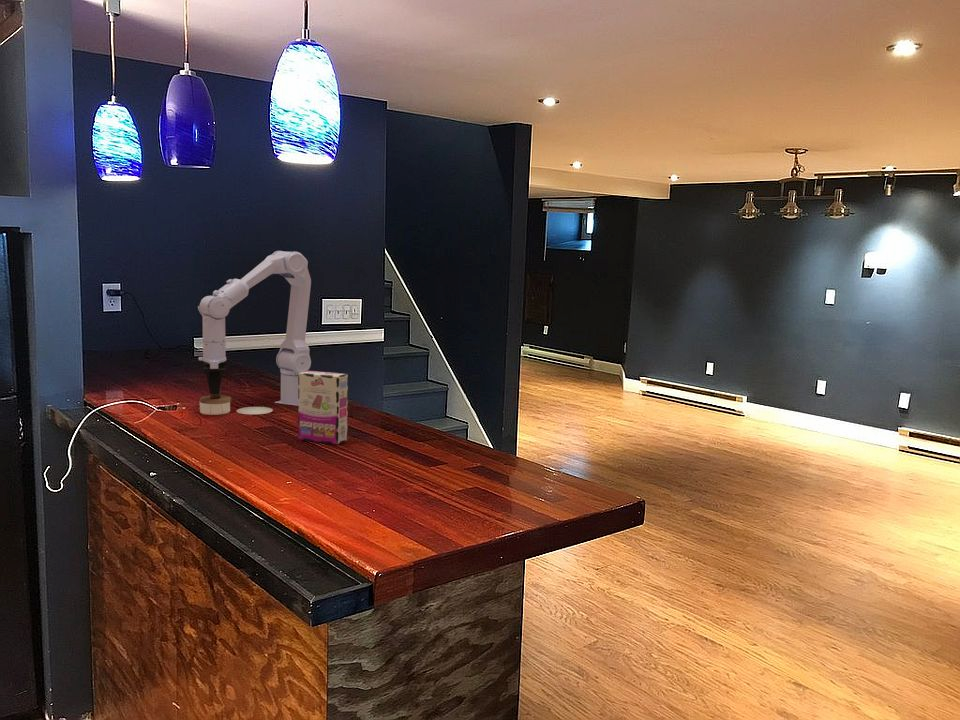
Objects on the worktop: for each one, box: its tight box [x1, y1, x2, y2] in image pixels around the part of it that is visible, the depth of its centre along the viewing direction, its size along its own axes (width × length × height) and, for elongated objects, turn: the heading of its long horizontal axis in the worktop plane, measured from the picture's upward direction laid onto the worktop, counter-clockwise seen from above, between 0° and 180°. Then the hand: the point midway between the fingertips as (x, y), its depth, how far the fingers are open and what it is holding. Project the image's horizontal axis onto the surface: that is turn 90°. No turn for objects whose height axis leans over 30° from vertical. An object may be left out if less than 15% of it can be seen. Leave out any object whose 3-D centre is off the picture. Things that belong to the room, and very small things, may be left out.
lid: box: [199, 390, 232, 404], centre depth 209 cm, size 8×8×5 cm
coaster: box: [236, 406, 274, 415], centre depth 213 cm, size 10×10×1 cm
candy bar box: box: [297, 370, 349, 445], centre depth 186 cm, size 11×5×16 cm, turn 70°
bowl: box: [199, 401, 231, 416], centre depth 210 cm, size 8×8×4 cm
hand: (214, 391), depth 209 cm, fingers open, 7 cm apart
